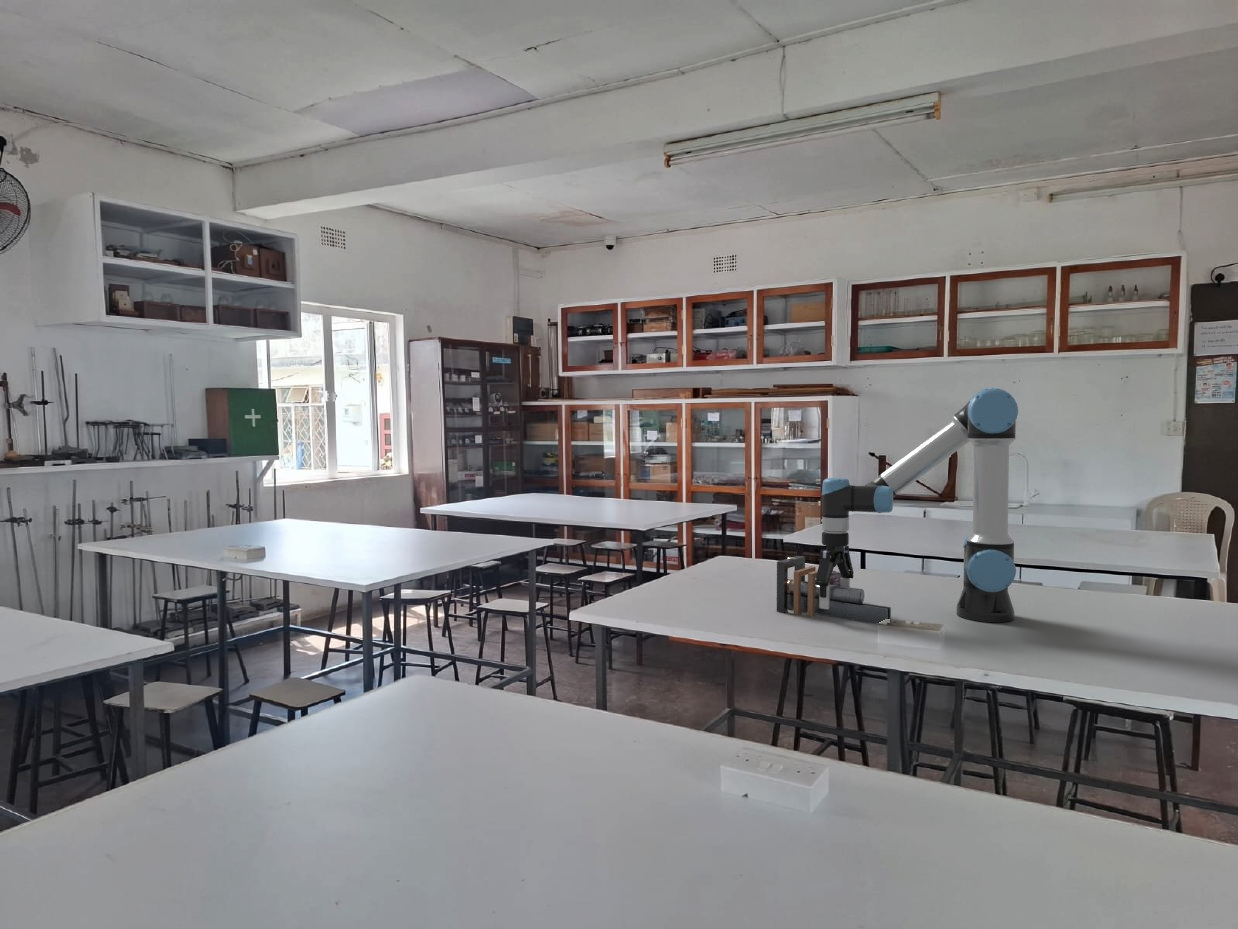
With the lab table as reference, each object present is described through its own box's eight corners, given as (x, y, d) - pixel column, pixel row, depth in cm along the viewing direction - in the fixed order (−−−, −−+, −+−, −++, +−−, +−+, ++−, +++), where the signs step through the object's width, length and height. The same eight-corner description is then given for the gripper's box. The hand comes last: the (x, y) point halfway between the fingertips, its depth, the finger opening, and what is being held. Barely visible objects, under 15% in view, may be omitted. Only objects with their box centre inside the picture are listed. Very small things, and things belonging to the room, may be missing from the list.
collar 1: (815, 607, 240) (815, 566, 239) (798, 614, 231) (798, 572, 231) (810, 606, 241) (811, 566, 240) (793, 613, 232) (793, 571, 232)
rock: (811, 606, 248) (844, 608, 243) (810, 580, 246) (843, 581, 242) (819, 593, 258) (851, 594, 253) (818, 567, 256) (849, 569, 252)
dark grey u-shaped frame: (804, 605, 243) (805, 555, 242) (784, 613, 233) (784, 561, 232) (797, 604, 245) (797, 554, 244) (776, 611, 235) (776, 560, 234)
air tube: (864, 603, 226) (864, 587, 226) (858, 605, 223) (858, 590, 223) (788, 591, 242) (788, 577, 242) (781, 594, 238) (781, 579, 238)
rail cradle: (890, 623, 221) (890, 607, 221) (886, 625, 219) (886, 609, 218) (787, 606, 241) (787, 592, 241) (782, 608, 239) (782, 593, 239)
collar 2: (829, 609, 237) (829, 568, 236) (812, 616, 229) (812, 573, 228) (824, 609, 238) (824, 567, 237) (807, 616, 230) (807, 573, 229)
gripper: (841, 526, 241) (841, 595, 242) (803, 535, 222) (802, 610, 223) (865, 528, 236) (864, 598, 237) (828, 537, 217) (827, 614, 218)
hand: (834, 604), depth 230 cm, fingers open, 13 cm apart
